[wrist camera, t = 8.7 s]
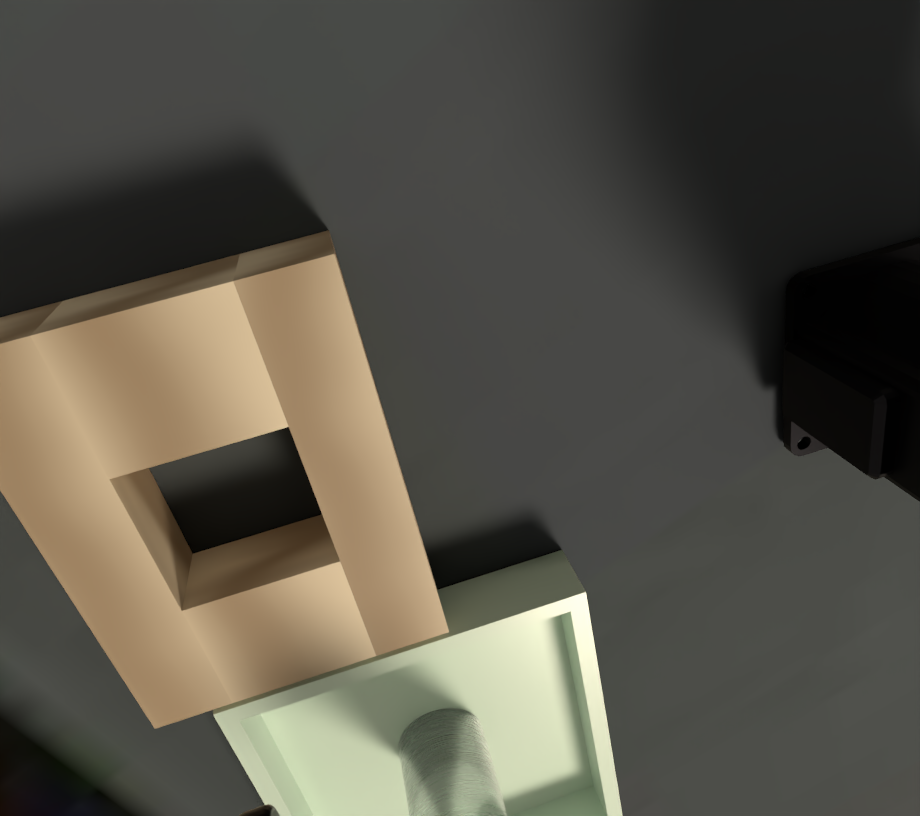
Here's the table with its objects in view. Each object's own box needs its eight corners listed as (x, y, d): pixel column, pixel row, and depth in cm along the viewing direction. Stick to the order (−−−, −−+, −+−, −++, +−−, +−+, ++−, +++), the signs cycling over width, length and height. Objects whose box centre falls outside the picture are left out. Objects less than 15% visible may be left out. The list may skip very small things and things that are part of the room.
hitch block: (329, 230, 18) (334, 253, 16) (434, 579, 23) (449, 632, 21) (-34, 326, 17) (-81, 365, 15) (167, 664, 23) (155, 728, 20)
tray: (562, 549, 24) (586, 592, 22) (602, 776, 30) (624, 825, 28) (219, 660, 23) (213, 714, 21) (334, 872, 29) (337, 930, 27)
